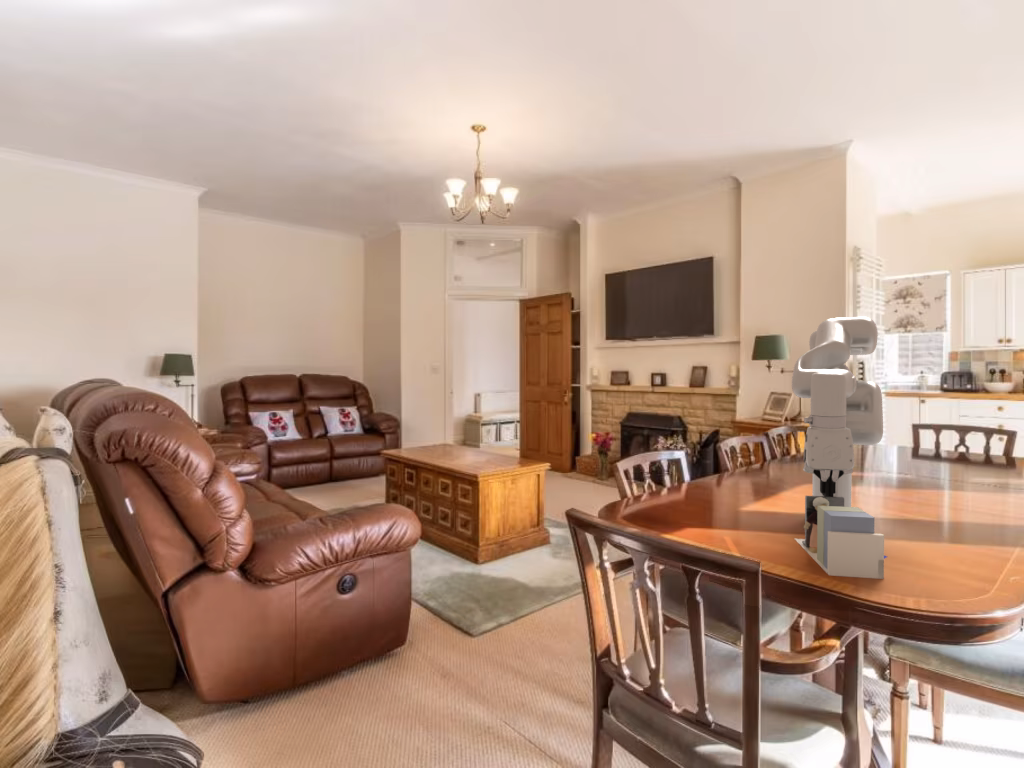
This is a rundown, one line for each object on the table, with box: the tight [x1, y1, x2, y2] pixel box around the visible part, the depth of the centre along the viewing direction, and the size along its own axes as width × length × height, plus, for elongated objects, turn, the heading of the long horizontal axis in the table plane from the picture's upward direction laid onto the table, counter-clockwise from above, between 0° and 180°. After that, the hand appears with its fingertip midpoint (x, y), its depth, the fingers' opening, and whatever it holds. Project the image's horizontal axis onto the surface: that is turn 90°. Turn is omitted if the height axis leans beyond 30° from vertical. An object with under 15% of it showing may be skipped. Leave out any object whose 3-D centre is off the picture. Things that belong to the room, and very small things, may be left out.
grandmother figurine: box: [803, 497, 829, 553], centre depth 125 cm, size 8×4×13 cm, turn 109°
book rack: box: [794, 531, 885, 580], centre depth 122 cm, size 24×10×10 cm, turn 168°
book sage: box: [817, 506, 866, 566], centre depth 117 cm, size 4×8×12 cm, turn 78°
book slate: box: [824, 511, 875, 569], centre depth 113 cm, size 4×8×12 cm, turn 78°
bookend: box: [802, 495, 844, 547], centre depth 128 cm, size 3×8×12 cm, turn 78°
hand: (827, 496), depth 133 cm, fingers closed
